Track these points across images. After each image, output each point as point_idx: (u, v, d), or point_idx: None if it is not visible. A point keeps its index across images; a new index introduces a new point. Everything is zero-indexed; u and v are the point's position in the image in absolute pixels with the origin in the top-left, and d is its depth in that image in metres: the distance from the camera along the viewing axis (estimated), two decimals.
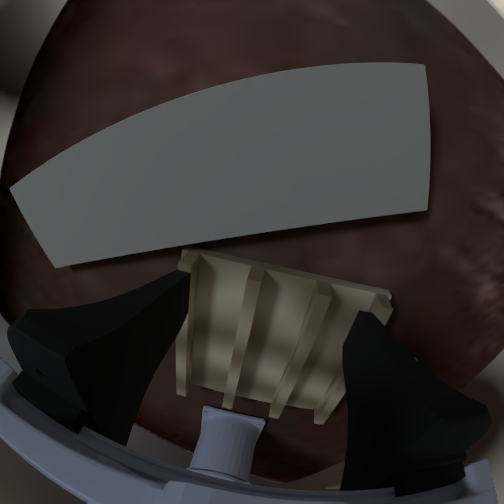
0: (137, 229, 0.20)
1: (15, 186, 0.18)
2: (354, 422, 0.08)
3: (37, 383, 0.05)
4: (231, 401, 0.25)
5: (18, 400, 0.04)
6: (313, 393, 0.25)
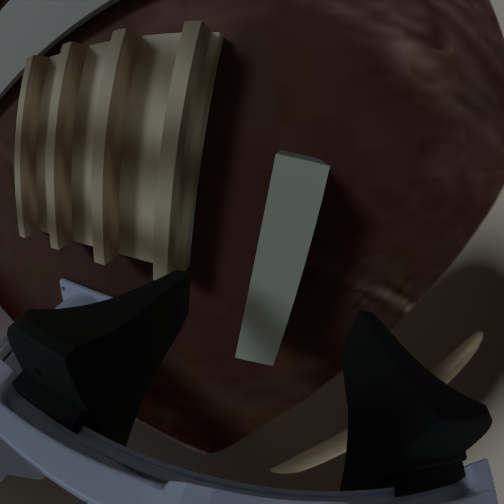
0: (16, 55, 0.12)
1: None
2: (354, 422, 0.08)
3: (37, 383, 0.05)
4: (54, 231, 0.17)
5: (18, 400, 0.04)
6: (152, 223, 0.18)
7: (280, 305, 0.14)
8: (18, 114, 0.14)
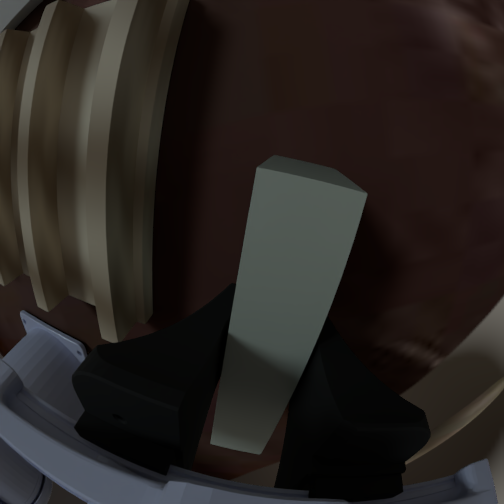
0: None
1: None
2: (291, 416, 0.08)
3: (107, 425, 0.05)
4: None
5: (18, 400, 0.04)
6: None
7: (267, 404, 0.09)
8: None
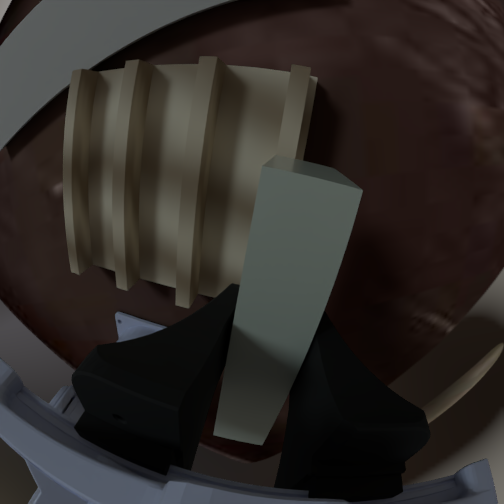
0: (55, 69, 0.13)
1: None
2: (291, 416, 0.08)
3: (108, 425, 0.05)
4: (123, 272, 0.18)
5: (18, 400, 0.04)
6: (240, 266, 0.19)
7: (270, 392, 0.09)
8: (66, 138, 0.15)
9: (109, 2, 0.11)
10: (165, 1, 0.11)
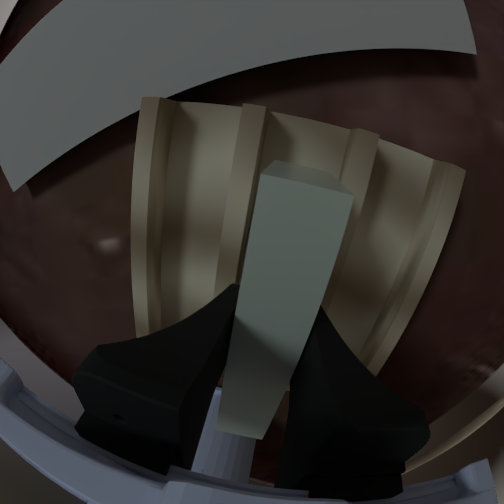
0: (107, 89, 0.12)
1: None
2: (291, 416, 0.08)
3: (108, 425, 0.05)
4: None
5: (18, 400, 0.04)
6: None
7: (269, 387, 0.10)
8: (135, 197, 0.13)
9: (202, 3, 0.09)
10: (294, 24, 0.09)
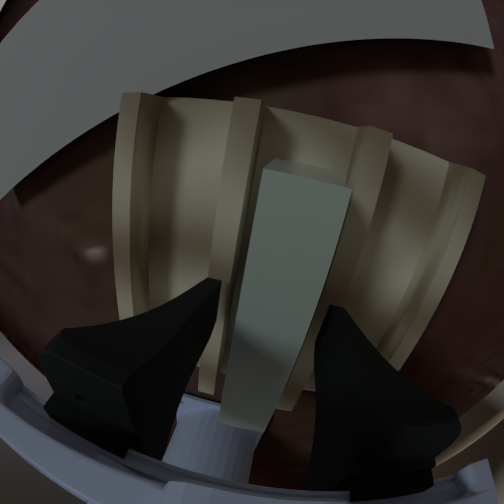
0: (88, 88, 0.10)
1: None
2: (320, 419, 0.08)
3: (73, 406, 0.05)
4: (211, 380, 0.15)
5: (18, 400, 0.04)
6: None
7: (271, 377, 0.10)
8: (116, 205, 0.11)
9: None
10: (296, 9, 0.08)
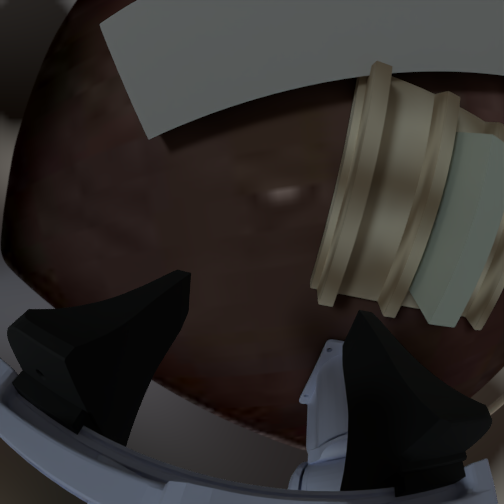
0: (331, 49, 0.12)
1: (114, 16, 0.11)
2: (354, 422, 0.08)
3: (37, 383, 0.05)
4: (400, 300, 0.17)
5: (18, 400, 0.04)
6: None
7: (478, 264, 0.12)
8: (367, 141, 0.14)
9: (414, 12, 0.09)
10: (464, 48, 0.10)
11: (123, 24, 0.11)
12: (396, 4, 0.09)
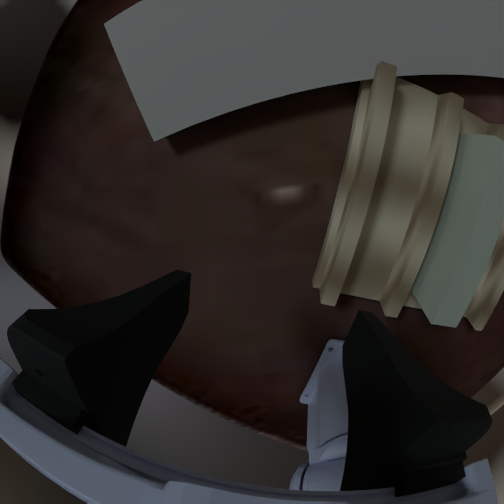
0: (340, 51, 0.12)
1: (119, 16, 0.11)
2: (354, 422, 0.08)
3: (37, 383, 0.05)
4: (402, 300, 0.17)
5: (18, 400, 0.04)
6: None
7: (480, 264, 0.12)
8: (371, 140, 0.14)
9: (420, 15, 0.09)
10: (469, 51, 0.10)
11: (128, 24, 0.11)
12: (403, 7, 0.09)
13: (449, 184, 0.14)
